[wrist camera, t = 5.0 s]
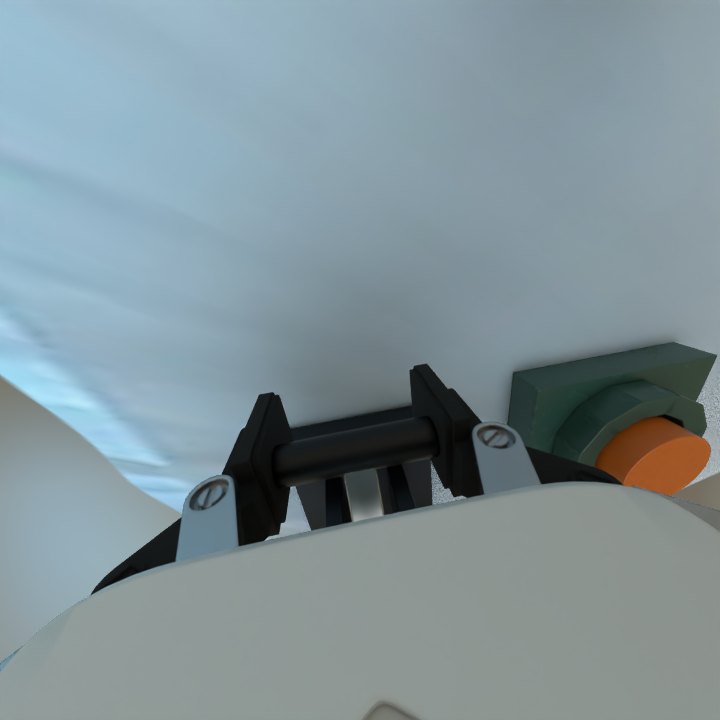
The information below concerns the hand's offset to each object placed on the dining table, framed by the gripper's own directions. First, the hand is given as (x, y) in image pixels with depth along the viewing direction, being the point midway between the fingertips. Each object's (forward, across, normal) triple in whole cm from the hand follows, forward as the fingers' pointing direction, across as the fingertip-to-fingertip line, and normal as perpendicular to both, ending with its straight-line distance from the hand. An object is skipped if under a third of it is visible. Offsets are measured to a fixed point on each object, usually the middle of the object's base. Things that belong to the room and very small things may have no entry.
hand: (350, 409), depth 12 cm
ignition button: (+1, -16, +7) cm, 18 cm away
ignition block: (+4, -16, +7) cm, 18 cm away
